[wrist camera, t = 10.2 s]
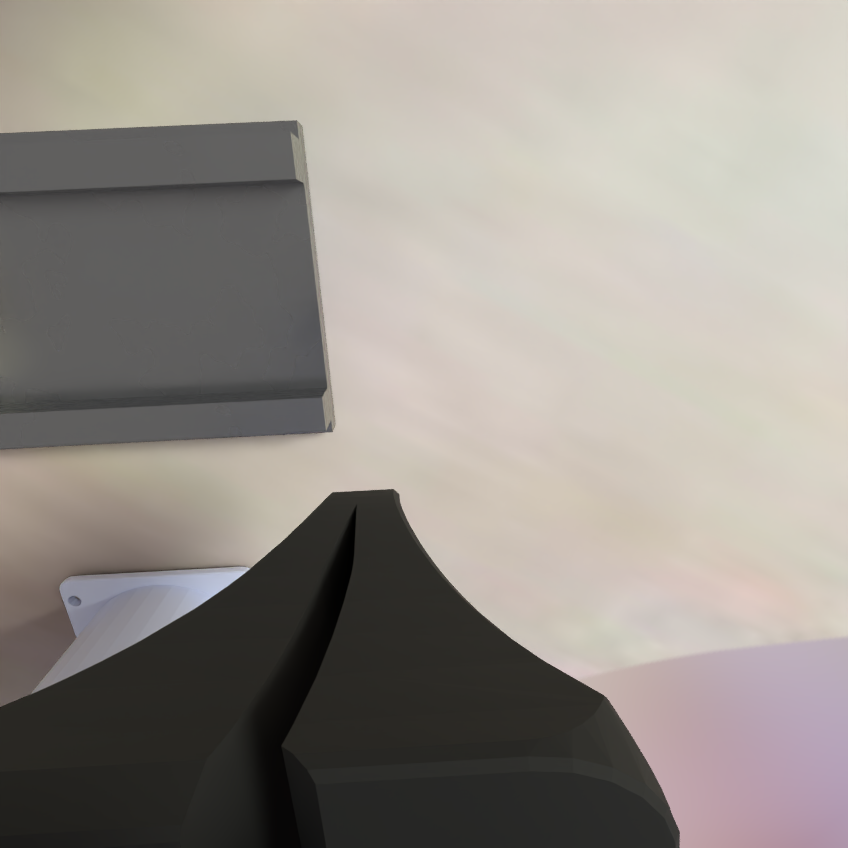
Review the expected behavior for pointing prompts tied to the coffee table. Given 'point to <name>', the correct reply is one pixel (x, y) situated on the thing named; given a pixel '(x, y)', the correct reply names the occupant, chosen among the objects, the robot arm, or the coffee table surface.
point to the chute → (159, 286)
